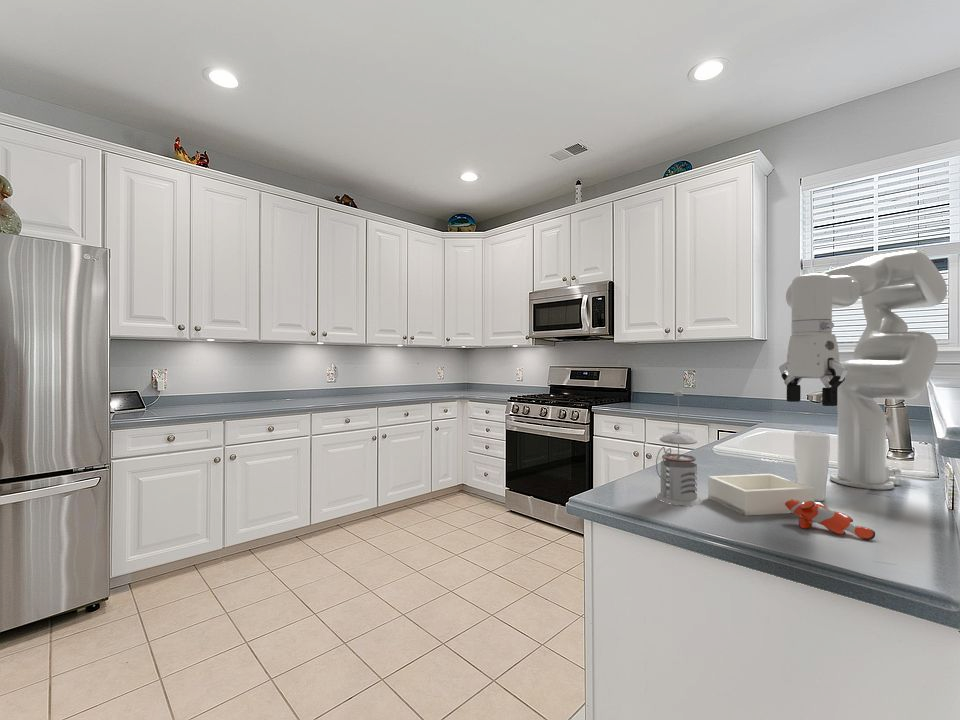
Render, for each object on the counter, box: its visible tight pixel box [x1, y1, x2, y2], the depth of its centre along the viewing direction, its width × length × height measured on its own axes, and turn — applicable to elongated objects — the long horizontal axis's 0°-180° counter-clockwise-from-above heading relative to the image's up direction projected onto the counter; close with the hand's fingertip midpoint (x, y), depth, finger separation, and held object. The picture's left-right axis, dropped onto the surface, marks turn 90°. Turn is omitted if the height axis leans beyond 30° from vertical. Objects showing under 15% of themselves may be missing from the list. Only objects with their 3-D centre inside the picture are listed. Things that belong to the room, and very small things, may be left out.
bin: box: [707, 473, 815, 517], centre depth 101 cm, size 16×12×5 cm
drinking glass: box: [792, 430, 831, 502], centre depth 105 cm, size 7×7×15 cm
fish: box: [785, 499, 876, 541], centre depth 86 cm, size 13×5×8 cm
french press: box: [655, 390, 703, 507], centre depth 105 cm, size 10×12×25 cm
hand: (810, 403), depth 105 cm, fingers open, 9 cm apart
